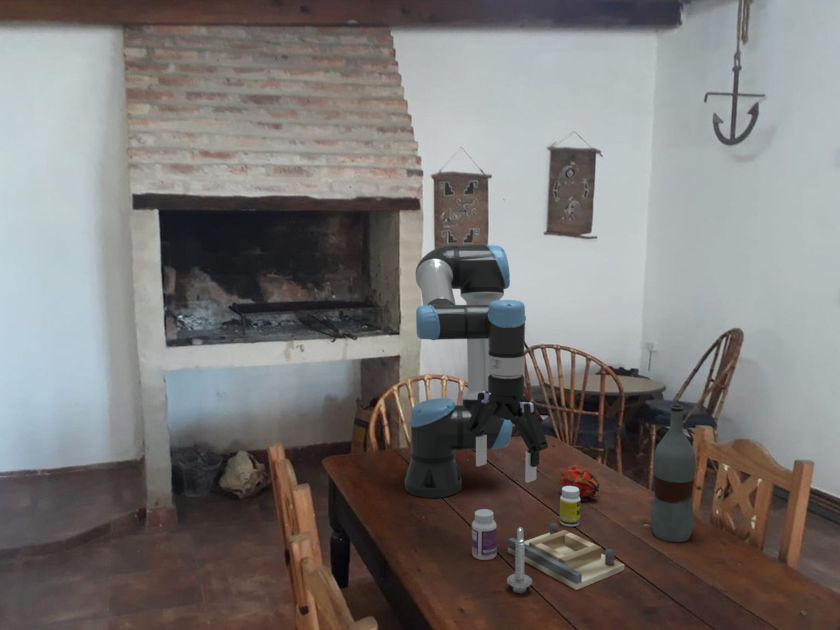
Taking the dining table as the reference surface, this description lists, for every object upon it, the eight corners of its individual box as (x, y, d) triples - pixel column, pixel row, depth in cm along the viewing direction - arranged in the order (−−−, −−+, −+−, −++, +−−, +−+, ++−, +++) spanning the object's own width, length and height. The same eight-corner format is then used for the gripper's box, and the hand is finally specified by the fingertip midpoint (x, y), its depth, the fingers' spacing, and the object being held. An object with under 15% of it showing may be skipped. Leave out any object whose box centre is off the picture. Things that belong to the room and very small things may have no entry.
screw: (509, 596, 145) (504, 584, 150) (534, 595, 146) (529, 583, 150) (510, 532, 143) (505, 522, 148) (535, 531, 144) (529, 521, 148)
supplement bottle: (580, 527, 176) (580, 493, 175) (559, 526, 177) (560, 491, 176) (579, 519, 181) (580, 485, 179) (559, 518, 182) (560, 484, 180)
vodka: (701, 541, 168) (707, 410, 164) (662, 545, 167) (668, 412, 162) (679, 524, 177) (685, 399, 173) (643, 527, 176) (647, 401, 172)
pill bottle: (499, 551, 164) (499, 509, 163) (493, 562, 159) (493, 518, 158) (475, 548, 166) (475, 506, 165) (468, 558, 161) (468, 515, 160)
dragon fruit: (562, 493, 201) (595, 514, 192) (545, 481, 196) (579, 503, 186) (579, 466, 202) (613, 485, 193) (562, 453, 197) (597, 473, 187)
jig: (507, 552, 164) (508, 534, 163) (554, 535, 172) (554, 519, 171) (576, 590, 148) (576, 570, 147) (624, 570, 156) (624, 551, 155)
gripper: (450, 368, 164) (450, 462, 167) (543, 387, 146) (541, 492, 149) (473, 363, 169) (473, 454, 172) (566, 381, 152) (564, 483, 155)
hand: (505, 472), depth 161 cm, fingers open, 13 cm apart
